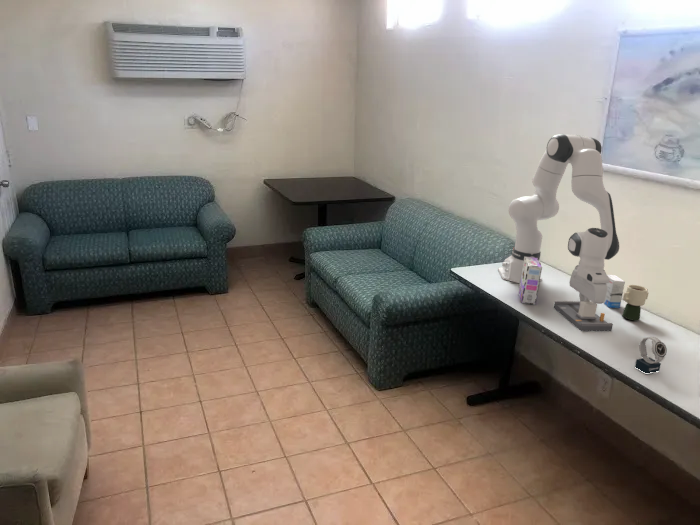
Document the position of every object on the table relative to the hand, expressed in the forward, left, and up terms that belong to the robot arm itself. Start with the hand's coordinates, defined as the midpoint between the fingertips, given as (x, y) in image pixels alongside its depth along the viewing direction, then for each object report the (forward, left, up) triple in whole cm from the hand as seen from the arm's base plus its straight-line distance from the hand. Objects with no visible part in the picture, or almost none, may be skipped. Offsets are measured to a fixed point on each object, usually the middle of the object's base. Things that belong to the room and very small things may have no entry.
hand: (583, 305), depth 211 cm
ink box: (-15, +21, -6) cm, 27 cm away
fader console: (+1, 0, -5) cm, 5 cm away
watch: (+41, +1, -6) cm, 41 cm away
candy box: (-20, -13, -6) cm, 25 cm away
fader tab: (+3, 0, -3) cm, 5 cm away
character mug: (0, +21, -6) cm, 22 cm away
